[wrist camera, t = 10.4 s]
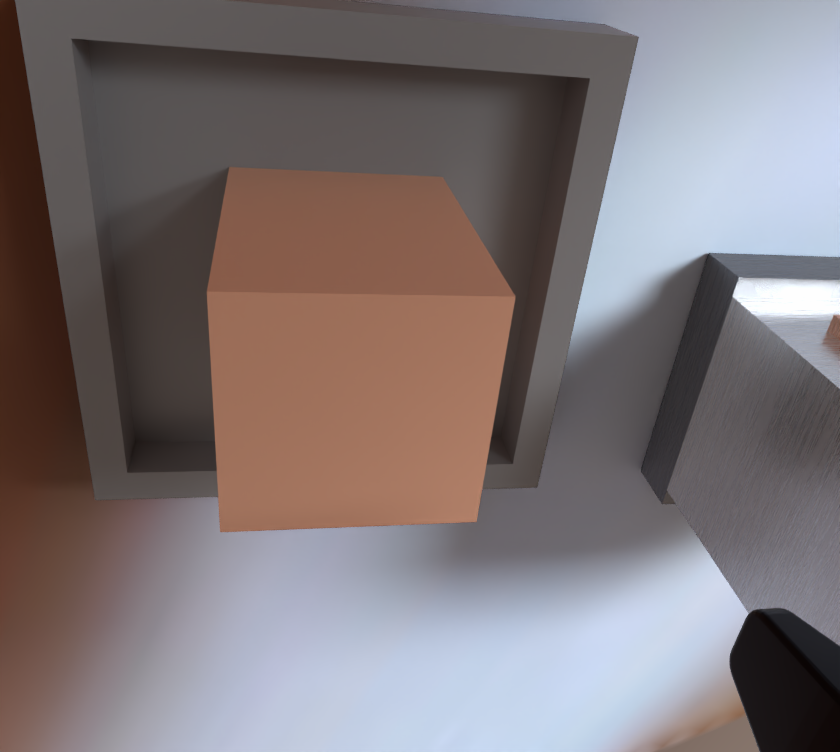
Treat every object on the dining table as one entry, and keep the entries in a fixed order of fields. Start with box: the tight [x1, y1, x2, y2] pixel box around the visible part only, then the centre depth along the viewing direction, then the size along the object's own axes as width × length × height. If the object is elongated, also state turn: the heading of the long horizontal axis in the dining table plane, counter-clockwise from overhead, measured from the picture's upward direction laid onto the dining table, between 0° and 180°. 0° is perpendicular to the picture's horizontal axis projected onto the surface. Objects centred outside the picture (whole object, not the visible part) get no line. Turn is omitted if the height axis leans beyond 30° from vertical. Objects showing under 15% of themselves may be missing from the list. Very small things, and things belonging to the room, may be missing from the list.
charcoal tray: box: [15, 0, 639, 500], centre depth 17 cm, size 11×11×2 cm
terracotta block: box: [207, 167, 515, 532], centre depth 15 cm, size 4×4×6 cm
